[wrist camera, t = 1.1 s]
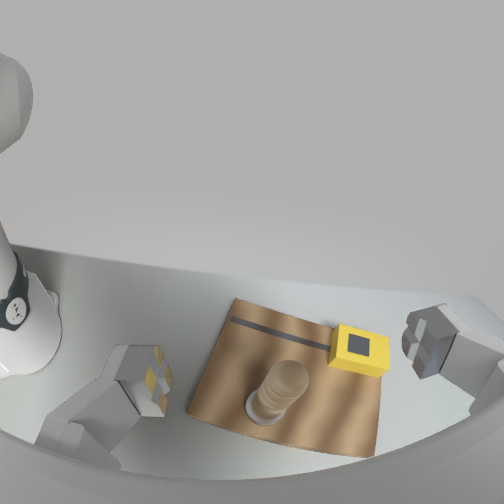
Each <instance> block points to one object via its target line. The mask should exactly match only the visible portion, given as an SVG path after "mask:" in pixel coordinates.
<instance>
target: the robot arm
mask: <svg viewBox="0 0 504 504" xmlns="http://www.w3.org/2000/svg"><path fill="white" fill-rule="evenodd" d="M32 103H33V91H32V84H31V81H30V78H29V75H28V73H27V72H26V70H25V69H24V67H23V66H22V65H21V64H20V63H19V62H17V61H16V60H14V59H12V58H9V57H6V56H5V55H3V54H1V53H0V153H2V152H3V151H4V150H6V149H7V148H8V147H9V146H11V145H12V144H14V143H15V142H16V141H17V140H19V139H20V138H21V136H22V135H23V133H24V131H25V129H26V126H27V124H28V121H29V118H30V115H31V110H32ZM58 304H59V298H58V296H57V295H56V293H54V292H52V291H49V290H46V289H45V288H44V286H43V285H42V283H41V282H40V280H39V278H38V277H37V275H36V274H35V273H31V272H29V271H26V270H25V268H24V265H23V263H22V261H21V260H20V258H19V257H18V255H17V254H16V253H15V252H14V251H13V250H12V248H11V246H10V244H9V242H8V239H7V237H6V235H5V232H4V230H3V227H2V225H1V223H0V378H2V379H4V378H7V377H9V376H12V375H14V374H22V375H25V374H31V373H34V372H37V371H38V370H40V369H42V368H43V367H44V366H45V365H47V364H48V363H49V361H50V360H51V359H52V358H53V356H54V355H55V353H56V351H57V349H58V346H59V343H60V340H61V331H62V329H61V321H60V318H59V315H58ZM406 323H407V325H408V327H407V329H406V330H405V331H404V332H403V336H402V349H403V352H404V354H405V356H406V357H407V358H408V359H410V360H412V361H413V364H412V367H413V369H414V370H415V372H416V374H417V375H418V377H419V379H423V378H426V377H429V376H432V375H435V374H438V373H439V374H440V375H441V376H443V377H444V378H446V379H447V380H449V381H450V382H452V383H453V384H455V385H456V386H458V387H459V388H461V389H462V390H464V391H465V392H467V393H468V394H470V395H471V396H473V397H474V398H475V400H474V401H473V403H472V404H471V406H470V407H469V412H470V414H471V416H469V417H467V418H465V419H463V420H462V421H460V422H458V423H456V424H454V425H452V426H450V427H448V428H446V429H444V430H442V431H440V432H438V433H435V434H433V435H431V436H429V437H427V438H424V439H422V440H420V441H417V442H415V443H412V444H410V445H407V446H404V447H402V448H399V449H396V450H394V451H391V452H388V453H385V454H382V455H379V456H376V457H372V458H369V459H366V460H362V461H359V462H355V463H351V464H347V465H343V466H339V467H335V468H330V469H325V470H320V471H315V472H309V473H303V474H297V475H290V476H282V477H273V478H262V479H247V480H193V479H178V478H167V477H158V476H150V475H143V474H137V473H131V472H126V471H121V470H120V469H121V464H120V462H119V461H118V460H117V459H116V458H115V457H114V456H113V455H111V454H110V452H111V451H112V449H113V448H114V447H115V446H116V445H117V444H118V443H119V442H120V441H121V439H122V438H123V437H124V436H125V435H126V434H127V433H128V432H129V431H130V429H131V428H132V427H133V426H134V425H135V424H136V423H137V422H138V420H139V419H140V418H141V416H150V417H165V414H166V409H167V404H168V400H167V398H166V396H165V395H166V394H167V393H168V392H169V391H170V389H171V384H172V381H171V371H170V368H169V365H168V363H166V362H165V361H164V360H162V359H163V355H164V353H163V351H162V349H161V347H160V346H158V345H116V346H115V347H114V349H113V351H112V353H111V355H110V357H109V359H108V361H107V363H106V366H105V368H104V370H103V372H102V375H101V377H100V379H95V380H94V381H92V382H91V383H90V384H88V385H87V386H86V387H84V388H83V389H82V390H80V391H79V392H78V393H76V394H75V395H74V396H72V397H71V398H69V399H68V400H67V401H65V402H64V403H63V404H61V405H60V406H59V407H57V408H56V409H55V410H53V411H52V412H51V413H49V414H48V415H47V417H46V419H45V421H44V423H43V426H42V428H41V430H40V432H39V435H38V437H37V439H36V442H35V444H32V443H29V442H27V441H25V440H23V439H20V438H18V437H16V436H14V435H12V434H10V433H8V432H6V431H4V430H2V429H0V504H504V340H502V339H499V338H497V337H495V336H492V335H490V334H487V333H485V332H482V331H480V330H477V329H475V328H469V327H468V326H467V325H466V324H465V323H464V322H463V321H462V319H461V318H460V317H459V316H458V315H457V314H456V313H455V312H454V311H453V310H452V309H451V308H450V307H449V306H448V305H447V304H445V303H443V304H439V305H436V306H433V307H430V308H426V309H422V310H418V311H414V312H410V314H409V315H408V317H407V320H406Z"/></svg>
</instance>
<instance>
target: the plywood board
mask: <svg viewBox="0 0 504 504" xmlns="http://www.w3.org/2000/svg"><path fill="white" fill-rule="evenodd" d="M334 330H335V329H333V328H329V327H326V326H322V325H319V324H316V323H312V322H309V321H306V320H302V319H299V318H296V317H293V316H289V315H286V314H283V313H280V312H277V311H274V310H271V309H267V308H264V307H261V306H258V305H255V304H252V303H249V302H246V301H243V300H240V299H237V298H235V301H234V303H233V305H232V308H231V310H230V312H229V315H228V317H227V319H226V322H225V324H224V326H223V329H222V331H221V334H220V336H219V338H218V341H217V343H216V345H215V348H214V350H213V352H212V355H211V357H210V359H209V362H208V364H207V366H206V369H205V371H204V373H203V376H202V378H201V380H200V382H199V385H198V387H197V389H196V392H195V394H194V396H193V399H192V401H191V403H190V406H189V408H188V410H187V415H188V416H190V417H193V418H195V419H198V420H201V421H203V422H206V423H209V424H212V425H215V426H218V427H220V428H223V429H226V430H230V431H233V432H236V433H239V434H243V435H246V436H249V437H253V438H257V439H260V440H264V441H268V442H272V443H276V444H280V445H285V446H289V447H294V448H299V449H304V450H310V451H315V452H321V453H328V454H335V455H343V456H352V457H362V458H368V457H372V456H374V452H375V445H376V437H377V429H378V419H379V408H380V394H381V376H380V377H379V378H378V377H373V376H369V375H364V374H360V373H355V372H351V371H347V370H343V369H339V368H335V367H331V366H328V361H329V354H330V348H331V339H332V333H333V332H334ZM284 360H294V361H297V362H299V363H301V364H302V365H303V366H304V367H305V368H306V370H307V372H308V374H309V384H308V387H307V389H306V391H305V392H304V393H303V394H302V395H301V396H300V397H299V398H298V399H297V400H296V401H295V402H293V403H292V404H291V405H290V406H289V407H288V408H287V409H286V411H285V414H284V415H283V417H282V418H281V419H280V420H278V421H277V422H276V423H274V424H272V425H269V426H261V425H257V424H255V423H253V422H252V421H251V420H250V419H249V418H248V417H247V415H246V412H245V404H246V401H247V399H248V397H249V396H250V394H251V393H252V392H254V391H255V390H257V389H259V387H260V386H261V384H262V383H263V381H264V379H265V378H266V376H267V374H268V373H269V371H270V370H271V368H272V367H273V366H274V365H275V364H277V363H278V362H281V361H284Z"/></svg>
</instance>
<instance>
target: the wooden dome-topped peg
mask: <svg viewBox="0 0 504 504" xmlns="http://www.w3.org/2000/svg"><path fill="white" fill-rule="evenodd" d="M308 384H309V374H308V372H307V370H306V368H305V367H304V366H303V365H302V364H301V363H299V362H297V361H294V360H284V361H281V362H278V363H277V364H275V365H274V366H273V367H272V368H271V370H270V371H269V373H268V374H267V376H266V378H265V379H264V381H263V383H262V384H261V386H260V387H259V389H257V390H255V391H254V392H252V393H251V394H250V396H249V397H248V399H247V401H246V404H245V412H246V415H247V417H248V418H249V419H250V420H251V421H252V422H253V423H255V424H257V425H261V426H269V425H272V424H274V423H276V422H277V421H278V420H280V419H281V418H282V417H283V415H284V414H285V411H286V409H287V408H288V407H289V406H290V405H291V404H292V403H293V402H295V401H296V400H297V399H298V398H299V397H300V396H301V395H302V394H303V393H304V392H305V391H306V389H307V387H308Z"/></svg>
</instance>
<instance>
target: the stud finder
mask: <svg viewBox="0 0 504 504" xmlns="http://www.w3.org/2000/svg"><path fill="white" fill-rule="evenodd" d="M328 366H331V367H335V368H339V369H343V370H347V371H351V372H355V373H360V374H364V375H369V376H373V377H378V378H379V377H380V376H382V375H383V374H384V373H385V372H387V371H388V370H389V337H386V336H382V335H379V334H375V333H371V332H368V331H364V330H361V329H357V328H354V327H350V326H347V325H343V324H339V325H338V326H337V328H336V329H335V330H334V332H333V333H332V339H331V348H330V354H329V361H328Z"/></svg>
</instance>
